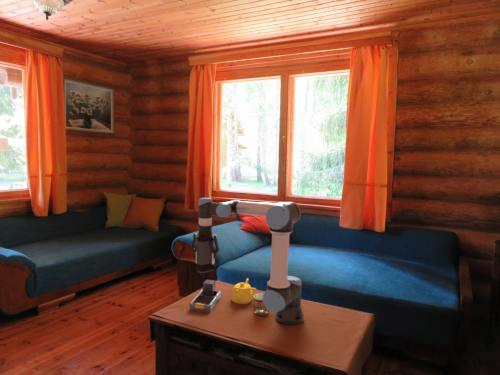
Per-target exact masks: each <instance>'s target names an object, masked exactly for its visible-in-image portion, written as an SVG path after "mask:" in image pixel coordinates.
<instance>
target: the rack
mask: <svg viewBox="0 0 500 375" xmlns="http://www.w3.org/2000/svg"><path fill="white" fill-rule="evenodd" d="M221 295H222V291H221V290H216V280H212V279H205V280H204V282H203V283H202V289H201V290H200V292H198V293H197V294H196V296H195V297H194V298H192V301H191V302H190V303H189V311H190V312H199V313H207V314H208V313H212V311H213V310H214V308H215V307H216V305H217V304H218V302H219V301H220V300H221ZM216 303H217V304H216Z"/></svg>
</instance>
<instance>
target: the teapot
mask: <svg viewBox="0 0 500 375" xmlns="http://www.w3.org/2000/svg"><path fill="white" fill-rule="evenodd" d="M256 293H257V288H256V287H251V285H250V284H249V277H247V278H246V280H245V281H244V282H238V283H236V284H235V285H234V286H233V288H232V292H231V294H230V295H231V296H230V300H231V302H232V303H234V304H236V305H237V304H238V305H248V304H249V303H250V302H251V301H253V299H254V296H255V295H256Z"/></svg>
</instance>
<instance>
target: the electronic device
mask: <svg viewBox="0 0 500 375" xmlns="http://www.w3.org/2000/svg"><path fill="white" fill-rule="evenodd" d="M208 239H209V240H210V241H211V242H212V244H213V245H214V246H215V243H214V239H213V237H211V238H205V237H199V236H198V237H197V240H196V246H197V263H196V272H198V273H200V274H204V273H208V272H209V273H210V272H212V271H214V268H215V267H214V266H215V263H214V264H213V265H212V253H213V251H212V249H211V247H210V245H209V243H208Z"/></svg>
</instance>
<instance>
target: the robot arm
mask: <svg viewBox="0 0 500 375" xmlns="http://www.w3.org/2000/svg"><path fill="white" fill-rule="evenodd" d="M197 207H198V232H195V233H193V236H192V237H193V239H192V244H191V248H190V250H191V251H193V254H194V256H193V257H194V258H195V264H197V237H205V238H211V237H213V239H214V245H213V244H212V242H211V241H210V240H209V239H208V243H209V245H210V247H211V249H212V251H213V253H212V265H213V264H214V265H215V263H216V261H215V260H216V259H217V253H219V252H220V250H221V249H220V245H219V242H218V234H213V232H212V231H213V225H212V223H213V217H219V218H228V217H229V216H230V215H233V214H235V215H247V216H257V217H265V221H266V224H267V225H268V227H269V232H270V233H271V253H270V254H271V256H270V258H271V259H270V277H269V278H270V279H269V280H268V281H267V282H266V291H265V292H264V293H262V294H263V295H262V302H263V305H264V306H265V307H266V308H267V310H269V311H270V312H272V313H275V320H276V321H277V322H278V323H280V324H283V325H286V326H287V325H288V326H295V325H299V324H302V323H303V321H304V318H305V317H304V315H305V314H304V312H303V308H302V280H301V279H300V278H299V277H297V276H293V275H289V274H288V272H289V271H288V270H289V252H290V250H289V248H290V235H291V234H292V233H293V231H294V230H293V228H294V224H296V223H297V222H298V221H299V220H300V218H301V216H302V211H301V207H300V206H299V205H298V204H297V203H296V202H293V201H279V202H278V203H276V202H275V203H273V202H260V201H259V202H257V201H245V200H239V199H232V200H228V201H223V202H214V201H213V199H212V197H199V199H198V206H197Z"/></svg>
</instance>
